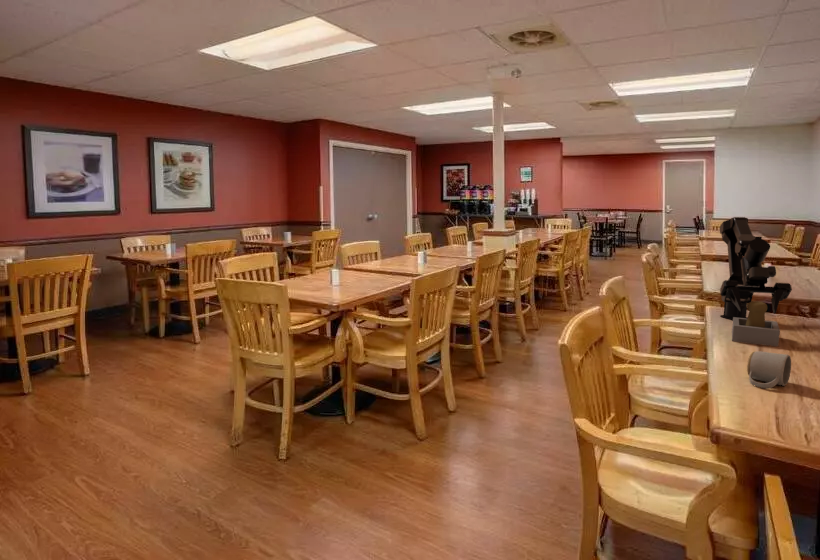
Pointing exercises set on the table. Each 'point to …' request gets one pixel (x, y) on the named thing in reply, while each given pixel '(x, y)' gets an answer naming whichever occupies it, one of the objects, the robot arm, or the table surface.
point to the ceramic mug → (769, 368)
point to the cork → (756, 314)
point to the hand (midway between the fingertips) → (757, 311)
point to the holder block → (755, 332)
